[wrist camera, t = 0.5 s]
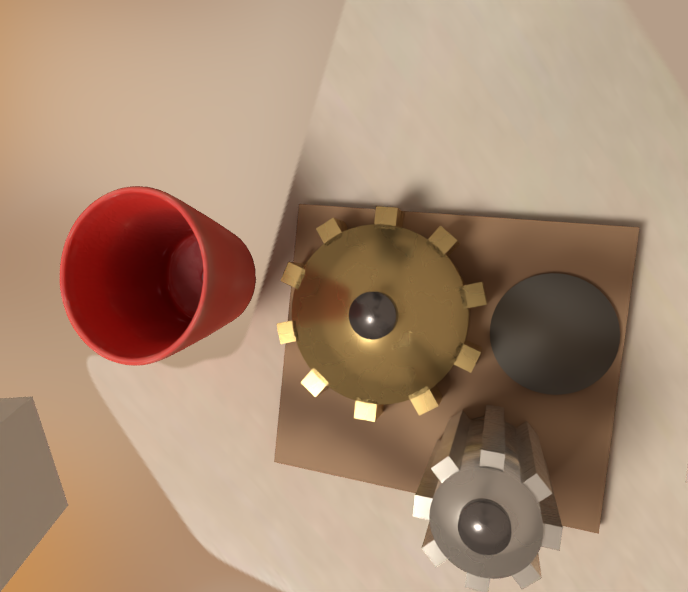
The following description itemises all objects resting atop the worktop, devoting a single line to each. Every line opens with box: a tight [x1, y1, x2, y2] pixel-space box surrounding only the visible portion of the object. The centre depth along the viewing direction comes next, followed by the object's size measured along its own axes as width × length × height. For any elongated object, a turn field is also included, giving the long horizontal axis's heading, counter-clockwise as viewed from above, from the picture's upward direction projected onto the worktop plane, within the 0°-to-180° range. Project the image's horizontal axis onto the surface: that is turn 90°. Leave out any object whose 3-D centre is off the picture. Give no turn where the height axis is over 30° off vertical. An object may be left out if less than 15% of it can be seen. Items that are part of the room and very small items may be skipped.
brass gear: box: [277, 206, 488, 422], centre depth 34 cm, size 14×14×4 cm
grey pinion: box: [413, 404, 563, 592], centre depth 29 cm, size 7×7×11 cm
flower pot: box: [60, 186, 256, 365], centre depth 36 cm, size 11×11×10 cm
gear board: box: [274, 204, 639, 534], centre depth 35 cm, size 19×22×1 cm
